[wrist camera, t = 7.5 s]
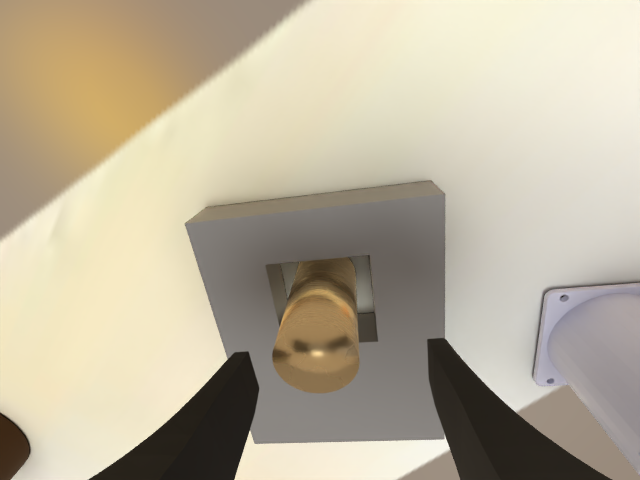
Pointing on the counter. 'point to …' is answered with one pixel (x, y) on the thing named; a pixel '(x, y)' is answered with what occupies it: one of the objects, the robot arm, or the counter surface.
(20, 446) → the olive oil
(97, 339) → the counter surface
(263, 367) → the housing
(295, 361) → the pin
